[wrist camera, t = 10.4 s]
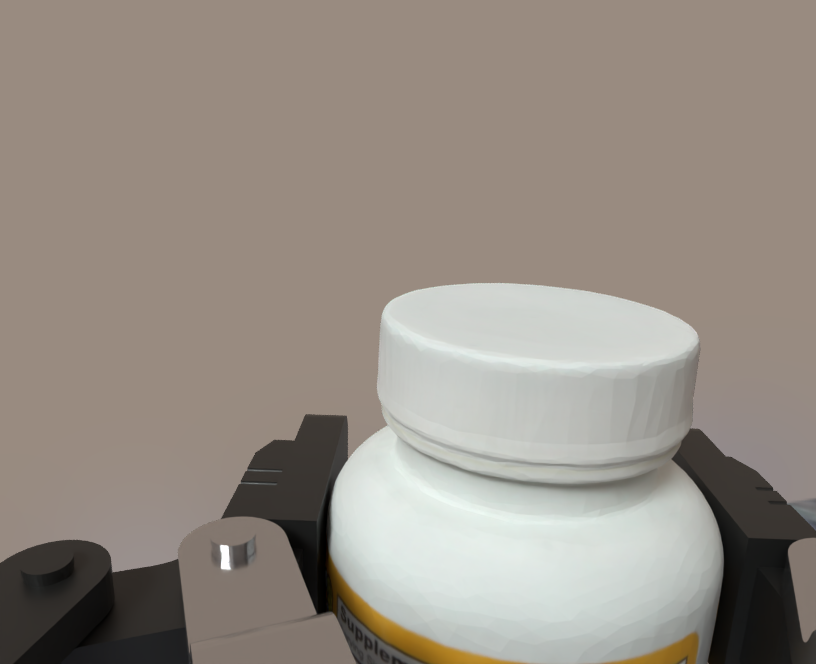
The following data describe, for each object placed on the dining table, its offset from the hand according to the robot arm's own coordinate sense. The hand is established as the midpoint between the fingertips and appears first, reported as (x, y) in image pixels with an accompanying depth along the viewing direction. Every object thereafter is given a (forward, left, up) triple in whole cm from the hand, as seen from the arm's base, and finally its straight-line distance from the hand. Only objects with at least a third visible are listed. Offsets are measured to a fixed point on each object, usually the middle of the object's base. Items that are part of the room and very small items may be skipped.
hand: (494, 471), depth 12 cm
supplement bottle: (0, +3, -6) cm, 7 cm away
